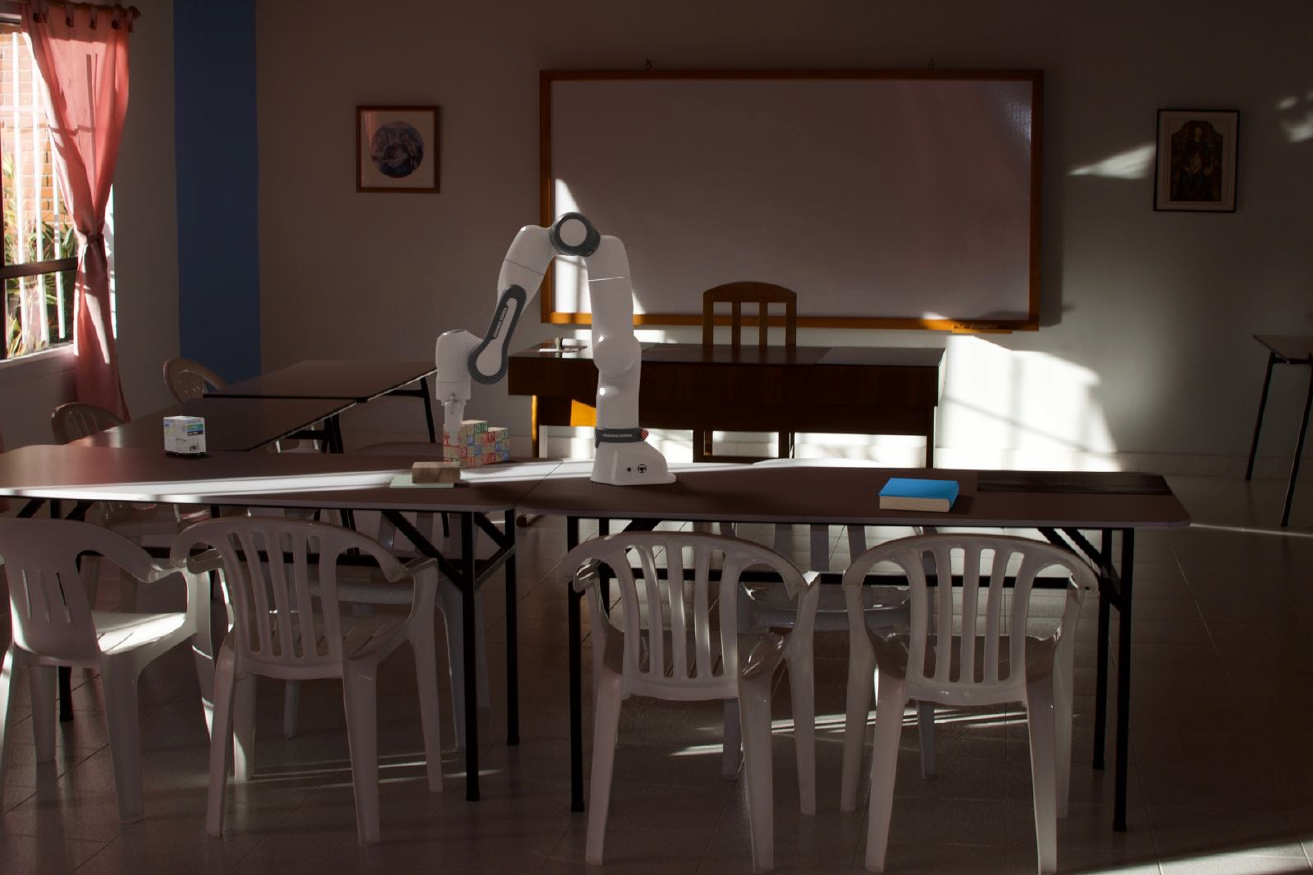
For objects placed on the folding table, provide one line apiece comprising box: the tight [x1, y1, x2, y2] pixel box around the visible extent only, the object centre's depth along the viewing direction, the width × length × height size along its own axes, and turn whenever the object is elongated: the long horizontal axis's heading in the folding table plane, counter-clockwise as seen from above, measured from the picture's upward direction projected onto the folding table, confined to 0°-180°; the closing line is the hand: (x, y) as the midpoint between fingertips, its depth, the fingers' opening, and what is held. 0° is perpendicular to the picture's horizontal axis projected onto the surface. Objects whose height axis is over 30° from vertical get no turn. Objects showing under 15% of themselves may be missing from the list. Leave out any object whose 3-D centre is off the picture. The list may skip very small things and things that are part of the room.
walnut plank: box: [411, 461, 462, 484], centre depth 381 cm, size 4×10×12 cm
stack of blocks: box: [442, 419, 510, 469], centre depth 414 cm, size 21×6×12 cm, turn 146°
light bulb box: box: [163, 415, 207, 453], centre depth 432 cm, size 11×7×11 cm, turn 58°
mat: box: [389, 474, 455, 489], centre depth 381 cm, size 16×18×1 cm
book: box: [878, 477, 960, 513], centre depth 355 cm, size 17×4×25 cm
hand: (454, 445), depth 380 cm, fingers closed
